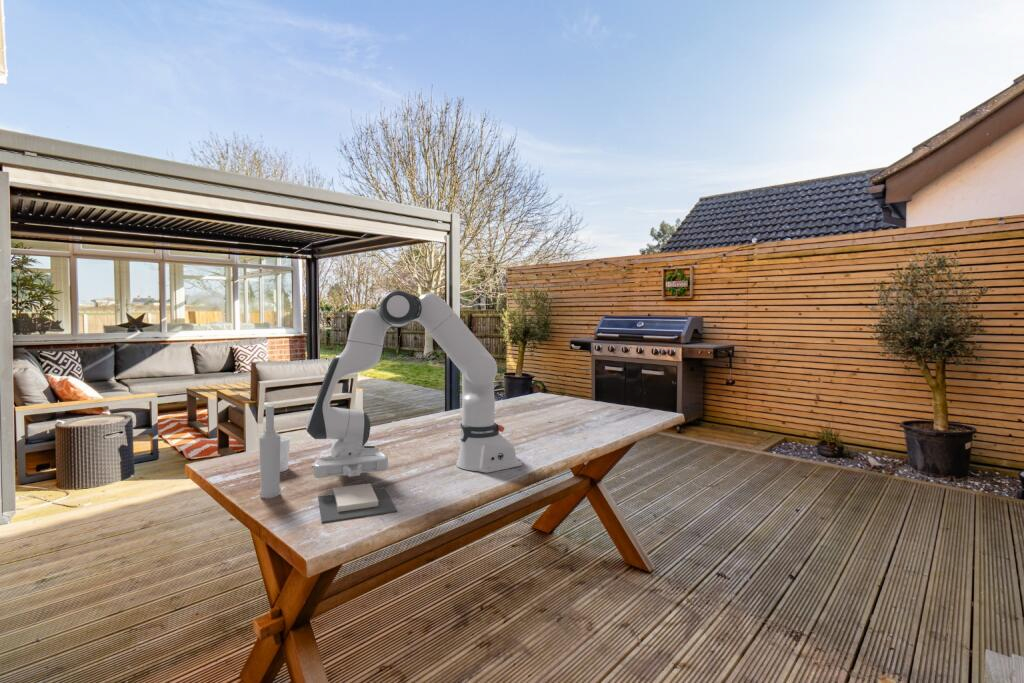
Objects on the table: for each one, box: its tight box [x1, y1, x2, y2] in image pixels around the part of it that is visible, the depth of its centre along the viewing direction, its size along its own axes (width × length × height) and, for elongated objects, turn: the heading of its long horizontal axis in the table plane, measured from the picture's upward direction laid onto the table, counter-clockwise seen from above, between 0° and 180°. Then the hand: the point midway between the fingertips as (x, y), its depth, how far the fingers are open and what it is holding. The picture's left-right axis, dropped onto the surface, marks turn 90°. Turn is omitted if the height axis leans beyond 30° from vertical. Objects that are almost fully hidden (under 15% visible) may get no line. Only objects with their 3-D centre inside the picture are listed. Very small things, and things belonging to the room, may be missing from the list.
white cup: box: [280, 435, 291, 473], centre depth 153 cm, size 8×8×10 cm
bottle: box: [258, 404, 281, 500], centre depth 131 cm, size 5×5×25 cm
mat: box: [317, 487, 398, 524], centre depth 127 cm, size 18×18×1 cm
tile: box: [332, 482, 378, 512], centre depth 129 cm, size 10×2×14 cm
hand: (354, 473), depth 131 cm, fingers closed
